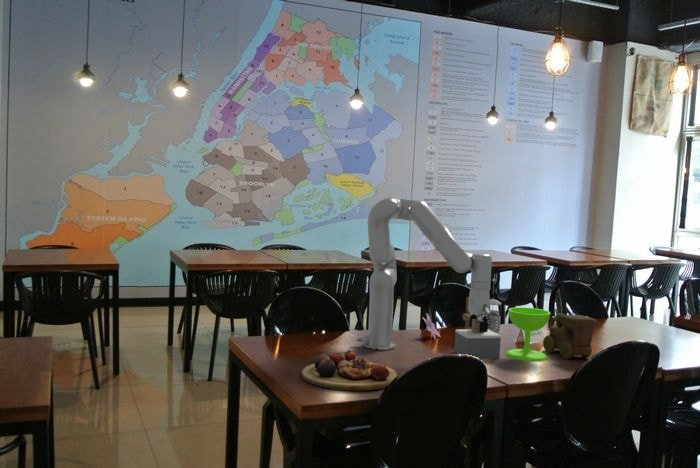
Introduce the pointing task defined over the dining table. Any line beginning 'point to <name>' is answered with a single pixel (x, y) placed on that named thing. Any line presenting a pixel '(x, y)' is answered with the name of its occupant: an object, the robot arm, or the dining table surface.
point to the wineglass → (528, 331)
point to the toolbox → (478, 346)
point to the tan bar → (466, 317)
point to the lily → (430, 326)
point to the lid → (477, 331)
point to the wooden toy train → (571, 336)
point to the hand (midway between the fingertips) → (478, 329)
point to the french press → (494, 316)
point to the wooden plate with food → (347, 373)
